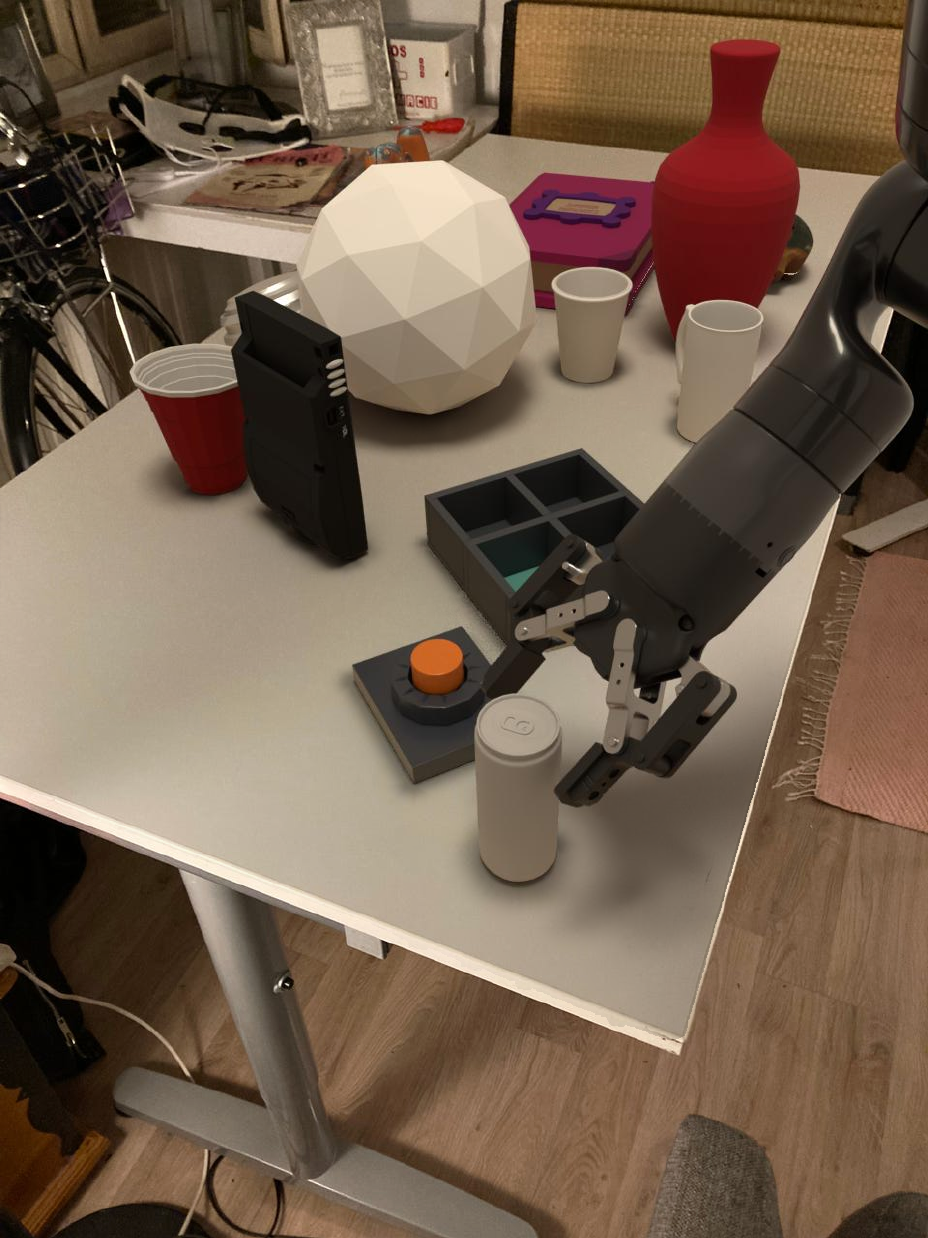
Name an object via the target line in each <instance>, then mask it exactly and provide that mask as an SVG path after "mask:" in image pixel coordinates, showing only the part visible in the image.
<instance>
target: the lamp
mask: <svg viewBox="0 0 928 1238" xmlns="http://www.w3.org/2000/svg"><path fill="white" fill-rule="evenodd" d="M509 204H510V203H508V200H507V198H506V197H505V196H504V195H502V194H500V193H499V192H497V191H495V190H493V189H491V188H490V187H488V186H487V185H485V184H483V183H482V182H480V181H478V180H477V179H475V178H473V177H472V176H470V175H468V174H466V173H465V172H463V171H461V170H460V169H458V168H457V167H455V166H453V165H452V164H450V163H448V162H447V161H444V160H443V159H442V160H430V161H424V162H408V163H393V164H377V165H371V166H370V167H369V168H368V169H366V170H365V169H364V171H363V172H361V174H360V175H358V176H357V177H356V178H355V179H354V180H353V181H352V182H350V183H349V184H348V185H347V186H346V187H345V188H343V189H342V190H341V191H340V192H339V193H338V194H337V195H336V196H334V197H333V198H332V199H331V200H329V202H327V203H326V205H324V206H323V207H322V208H321V209H320V212H319V214H318V216H317V218H316V221H315V223H314V225H313V226H312V229H311V231H310V233H309V235H308V237H307V239H306V241H305V242H306V243H305V244H304V246H303V249H302V251H301V252H300V255H299V257H298V259H297V261H296V264H295V266H296V270H293V271H290V272H285V273H281V274H277V275H274V276H272V277H269V278H266V279H264V280H261V281H259V282H257V283H254V284H252V285H251V286H248V287H247V288H245V289H243V290H242V291H240V292H239V293H237V294H235V295H233V296H232V297H230V298H229V299H227V301H226V307H225V309H224V313H223V314H222V315H220V318H219V319H220V321H219V322H220V324H219V325H220V327H223V328H225V331H226V333H225V334H224V335H223V340H224V341H223V342H224V345H225V346H231V347H233V346H234V344H235V343H236V341H237V340H238V338H239V337H240V335H241V328H240V323H239V318H238V313H237V308H236V303H235V298H234V297H237V296H240V295H243V294H245V293H248V292H251V291H255V292H258V293H260V294H262V295H264V296H266V297H268V298H270V299H272V300H274V301H276V302H278V303H280V304H282V305H284V306H286V307H288V308H289V309H291V310H293V311H295V312H297V313H299V314H301V315H303V316H305V317H307V318H309V319H310V320H312V321H314V322H316V323H318V324H320V325H322V326H324V327H326V328H328V329H329V330H331V331H333V332H334V333H336V334H338V335H339V336H341V340H342V348H343V356H344V364H345V372H346V379H347V387H348V392H349V393H350V394H351V395H353V397H354V398H356V399H359V400H362V401H366V402H368V403H372V404H376V405H379V406H382V407H385V408H388V409H390V410H394V411H400V412H408V413H416V414H423V415H434V414H438V413H441V412H446V411H449V410H453V409H457V408H460V407H462V406H463V405H465V404H467V403H470V402H471V401H473V400H475V399H477V398H478V397H480V396H482V395H484V394H486V393H488V392H490V391H491V390H494V389H495V388H497V387H499V386H500V385H501V383H502V382H503V380H504V378H505V377H506V375H507V373H508V372H509V370H510V368H511V366H512V365H513V363H514V361H515V359H516V358H517V356H518V354H519V353H520V351H521V349H523V346H524V345H525V343H526V341H527V339H528V337H529V335H530V334H531V332H532V331H533V328H534V327H535V325H536V324H537V322H538V317H537V308H536V307H537V306H535V297H534V288H533V278H532V269H531V260H530V250H529V246H528V243H527V241H526V239H525V237H524V235H523V233H522V231H521V229H520V227H519V225H518V223H517V221H516V219H515V217H514V215H513V213H512V211H511V209H510V206H509Z"/></svg>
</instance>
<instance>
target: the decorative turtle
mask: <svg viewBox="0 0 928 1238" xmlns="http://www.w3.org/2000/svg"><path fill="white" fill-rule="evenodd" d="M813 246H814V236H813V232H812V230H811V228H810V226H809V225H808V223H807V222H806V221H805V220H804V219H803V218H802V217H801V216H799V215H798V214H797V213H796V214H795V218H794V222H793V226H792V229H791V232H790V236H789V239H788V242H787V245H786V248H785V251H784V253H783V256H782V259H781V261H780V264H779V266H778V269H777V271H776V273H775V275H774V278H773V280H772V282H771V284H775V283H777V282H778V281H780V280H781V279H782V278H784V280H792V279H794V278H795V277H796V276H797V274H794V275H788V274H784V273H796V272H798V271H799V272H800V270H801V269H802V268H803V266H804V264H805V263H806V261H807V259H808V258H809V256H810V254H811V252H812V249H813ZM799 272H798V273H799Z"/></svg>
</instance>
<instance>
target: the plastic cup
mask: <svg viewBox="0 0 928 1238" xmlns="http://www.w3.org/2000/svg"><path fill="white" fill-rule="evenodd" d="M231 349H232V347H231V346H226V344H220V343H188V344H182V345H181V344H180V345H175V346H169V347H165V348H163V349H160V350H156V351H153V352H150V353H148V354H146V355H145V356H142V358H140V359H138V360H136V361H135V362H134V364H133V365H132V367H131V368H130V370H129V374H130V377H131V380H132V382H133V384H134V386H135V387H136V388H137V389H138V390H140V392H141V394H142V395H143V397H144V400H145V402H146V403H147V405H148V407H149V410H150V412H151V413H152V414H153V416H154V419H155V421H156V423H157V425H158V427H159V429H160V432H161V434H162V436H163V438H164V441H165V444H166V445H167V447H168V449H169V452H170V454H171V457H172V458H173V460H174V462H176V465H177V467H178V470H179V471H180V473H181V475H182V477H183V480H184V483H185V484H187V486H188V488H189V489H190V490H191V491H193V492H195V493H197V494H201V495H206V496H209V495H221V494H225V493H228V492H231V491H233V490H235V489H237V488H239V487H240V486H242V484H243V483H244V482H245V481H246V480H247V479H246V478H247V475H248V470H247V467H246V463H245V454H244V445H243V422H244V421H246V416H244V415H243V407H242V402H241V397H240V392H239V387H238V382H237V378H236V373H235V368H234V363H233V358H232V354H231Z"/></svg>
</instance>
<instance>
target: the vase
mask: <svg viewBox="0 0 928 1238" xmlns="http://www.w3.org/2000/svg"><path fill="white" fill-rule="evenodd" d="M781 51H782V49H781V46H780V45H779V44H778V43H776V42H773V41H767V40H761V39H753V38H752V39H751V38H746V39H745V38H744V39H743V38H742V39H740V38H739V39H737V38H736V39H728V40H722V41H718V42H715V43H713V44H711V46H710V48H709V59H710V70H711V72H710V73H711V97H712V98H711V109H710V113H709V116H708V119H707V121H706V123H705V125H704V127H703V128H702V129H701V130H700V131H699V133H698V134H696V135H695V136H694V137H692V138H691V139H689V140H688V141H687V142H685V143H683V144H682V145H680V146H679V147H677V148H676V149H673V150H672V151H671V152H670V153H668V155H666V157H665V158H664V159H663V161H661V163H660V164H659V166H658V170H657V172H656V175H655V178H654V181H655V182H654V189H653V196H652V213H651V227H652V248H653V259H654V266H655V267H654V273H655V279H656V284H657V288H658V292H659V293H658V294H659V296H660V301H661V304H662V307H663V311H664V314H665V315H664V316H665V318H666V321H667V325H668V327H669V330H670V333H671V336H672V340H673V342H674V344H676V338H677V332H678V328H679V325H680V322H681V320H682V318H683V315H684V313H685V311H686V306H687V305H691V304H693V305H697V304H699V303H702V302H706V301H712V300H730V301H737V302H742V303H745V304H748V305H751V306H753V307H755V308H757V309H758V310H759V307H760V305H761V304H762V302H763V300H764V299H765V296H766V294H767V292H768V291H769V288H770V286H771V284H772V283H771V282H772V280H773V278H774V275H775V273H776V271H777V269H778V266H779V264H780V261H781V259H782V256H783V253H784V251H785V248H786V245H787V242H788V239H789V236H790V232H791V229H792V226H793V222H794V218H795V214H796V215H797V210H798V206H799V200H800V199H799V198H800V191H801V180H800V179H801V178H800V169H799V168H798V166H797V163H796V162H795V160H794V159H793V157H792V156H791V155H789V153H787V152H786V151H785V150H784V149H783V148H781V147H780V146H779V145H778V144H776V142H774V141H773V139H771V138H770V136H769V135H768V133H767V131H766V130H765V129H766V128H765V126H764V122H763V109H764V105H765V104H764V103H765V99H766V97H767V92H768V89H769V86H770V83H771V80H772V78H773V74H774V72H775V68H776V66H777V63H778V60H779V58H780V54H781Z"/></svg>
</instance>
